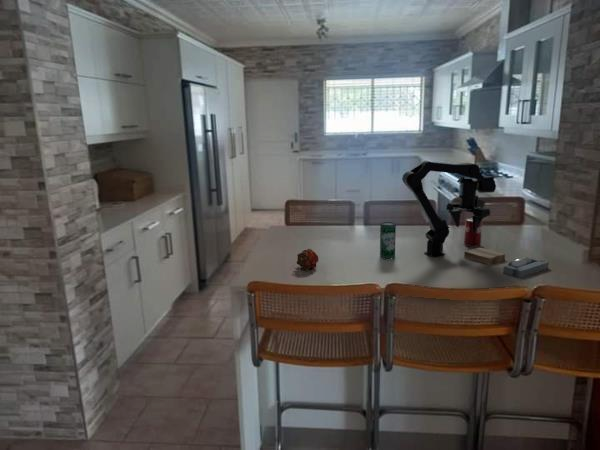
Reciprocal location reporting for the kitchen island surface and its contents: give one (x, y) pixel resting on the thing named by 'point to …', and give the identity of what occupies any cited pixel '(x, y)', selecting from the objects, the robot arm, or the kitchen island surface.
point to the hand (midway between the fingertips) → (466, 228)
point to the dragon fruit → (307, 259)
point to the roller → (520, 262)
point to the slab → (484, 255)
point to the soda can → (472, 233)
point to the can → (387, 239)
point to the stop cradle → (526, 268)
